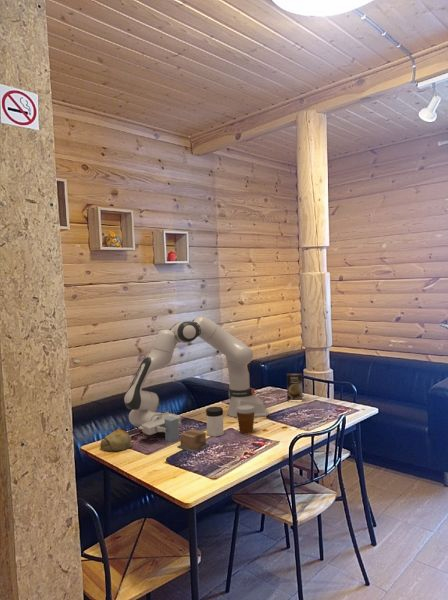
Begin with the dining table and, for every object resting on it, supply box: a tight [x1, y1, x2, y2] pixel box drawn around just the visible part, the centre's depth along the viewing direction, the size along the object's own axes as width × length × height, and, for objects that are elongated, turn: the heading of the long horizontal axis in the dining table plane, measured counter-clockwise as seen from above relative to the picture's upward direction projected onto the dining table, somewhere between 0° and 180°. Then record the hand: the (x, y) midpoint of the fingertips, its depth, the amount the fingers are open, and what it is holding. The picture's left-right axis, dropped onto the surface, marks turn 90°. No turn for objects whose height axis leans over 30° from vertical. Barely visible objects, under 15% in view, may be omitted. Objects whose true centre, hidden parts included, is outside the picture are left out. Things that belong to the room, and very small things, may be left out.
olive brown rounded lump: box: [99, 428, 134, 452], centre depth 199 cm, size 14×12×8 cm
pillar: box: [164, 417, 180, 443], centre depth 205 cm, size 4×4×10 cm
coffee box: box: [286, 372, 304, 401], centre depth 264 cm, size 9×6×16 cm
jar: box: [205, 406, 225, 438], centre depth 212 cm, size 9×8×12 cm
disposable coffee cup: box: [236, 405, 255, 435], centre depth 213 cm, size 10×10×12 cm
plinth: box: [176, 428, 210, 454], centre depth 196 cm, size 10×10×6 cm
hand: (173, 427), depth 205 cm, fingers open, 7 cm apart
